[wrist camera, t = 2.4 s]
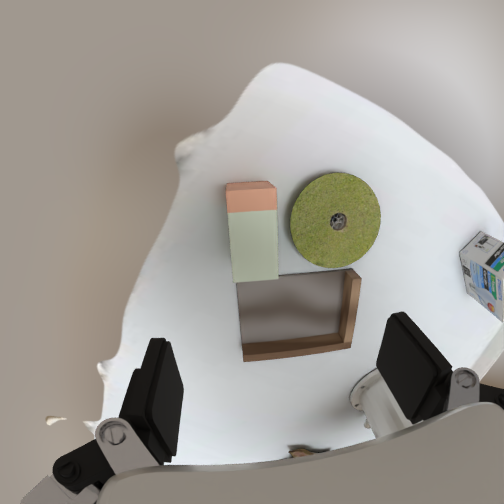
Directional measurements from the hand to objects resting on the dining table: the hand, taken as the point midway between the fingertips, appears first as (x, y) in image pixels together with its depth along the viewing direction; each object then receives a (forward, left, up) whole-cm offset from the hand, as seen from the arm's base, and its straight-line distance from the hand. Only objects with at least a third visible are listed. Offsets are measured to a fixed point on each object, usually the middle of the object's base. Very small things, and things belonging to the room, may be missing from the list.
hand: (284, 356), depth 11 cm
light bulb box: (-9, -39, -23) cm, 46 cm away
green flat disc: (0, -10, -22) cm, 25 cm away
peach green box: (0, 0, -22) cm, 22 cm away
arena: (-13, -6, -22) cm, 26 cm away
